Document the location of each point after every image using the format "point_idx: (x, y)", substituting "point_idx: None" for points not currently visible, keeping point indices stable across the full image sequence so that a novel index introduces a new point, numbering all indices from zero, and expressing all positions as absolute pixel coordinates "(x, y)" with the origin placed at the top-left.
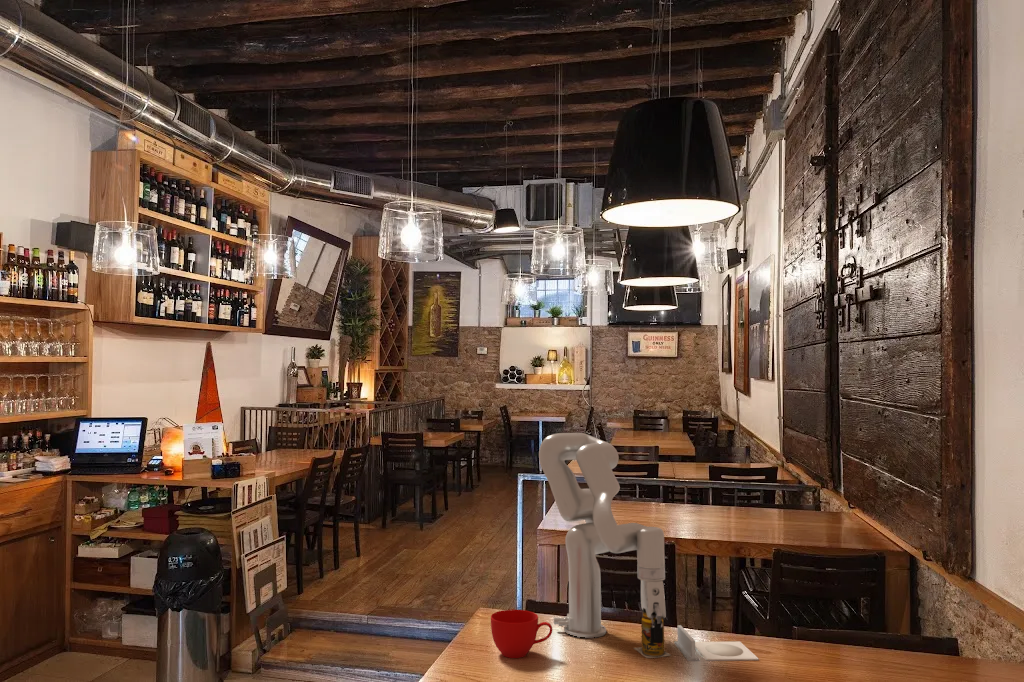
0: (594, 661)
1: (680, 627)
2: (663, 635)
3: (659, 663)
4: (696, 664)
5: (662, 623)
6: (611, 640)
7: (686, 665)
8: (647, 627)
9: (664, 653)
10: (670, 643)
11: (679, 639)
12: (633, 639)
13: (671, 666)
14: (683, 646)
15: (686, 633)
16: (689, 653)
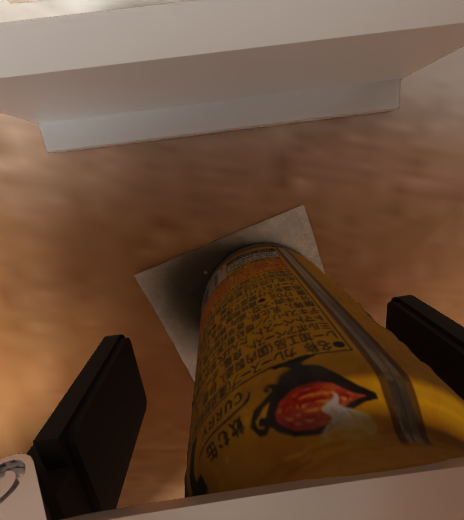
0: None
1: (4, 60)
2: (333, 291)
3: (412, 282)
4: (452, 63)
5: (434, 376)
6: None
7: (459, 136)
8: None
9: (268, 242)
10: (60, 179)
11: (75, 110)
12: (46, 382)
13: (461, 226)
14: (195, 100)
15: (241, 21)
16: (352, 80)
